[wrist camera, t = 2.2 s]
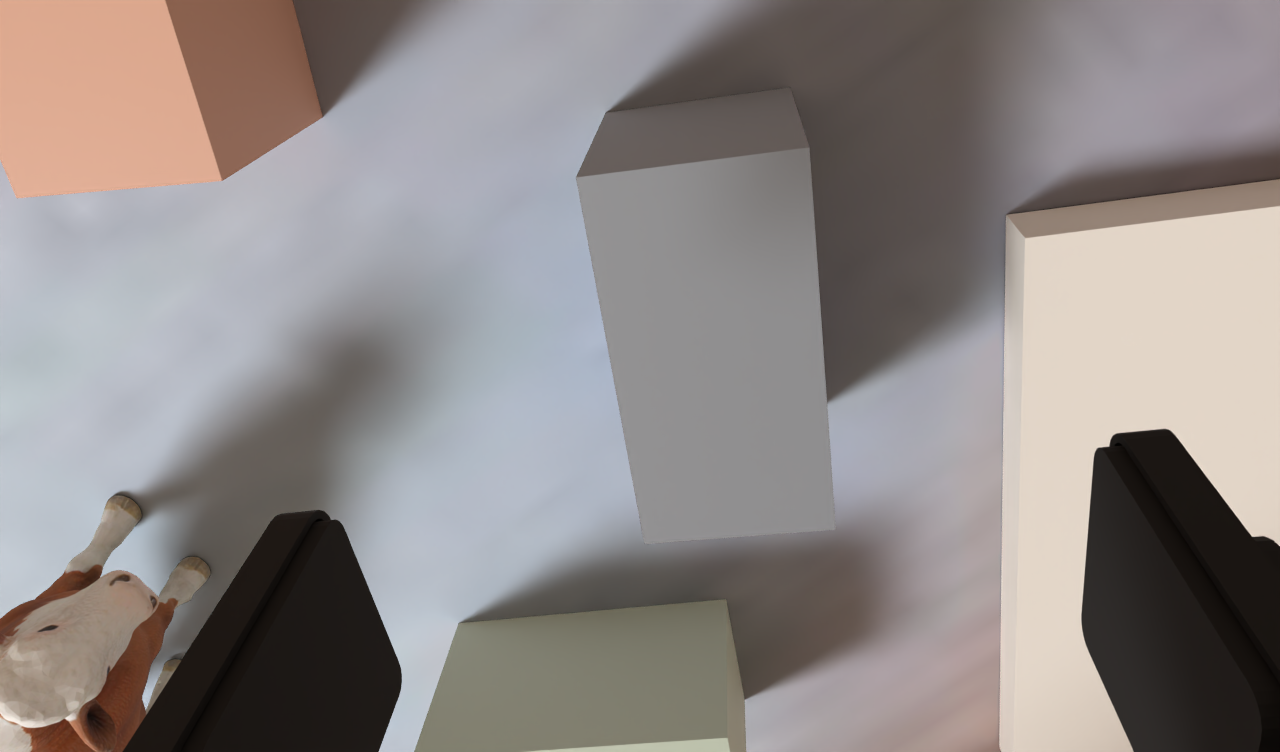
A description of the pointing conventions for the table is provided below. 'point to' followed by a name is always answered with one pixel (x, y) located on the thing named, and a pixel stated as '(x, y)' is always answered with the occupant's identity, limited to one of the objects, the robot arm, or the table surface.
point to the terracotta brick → (146, 91)
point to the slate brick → (713, 314)
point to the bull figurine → (88, 648)
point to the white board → (1124, 410)
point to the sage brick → (592, 683)
